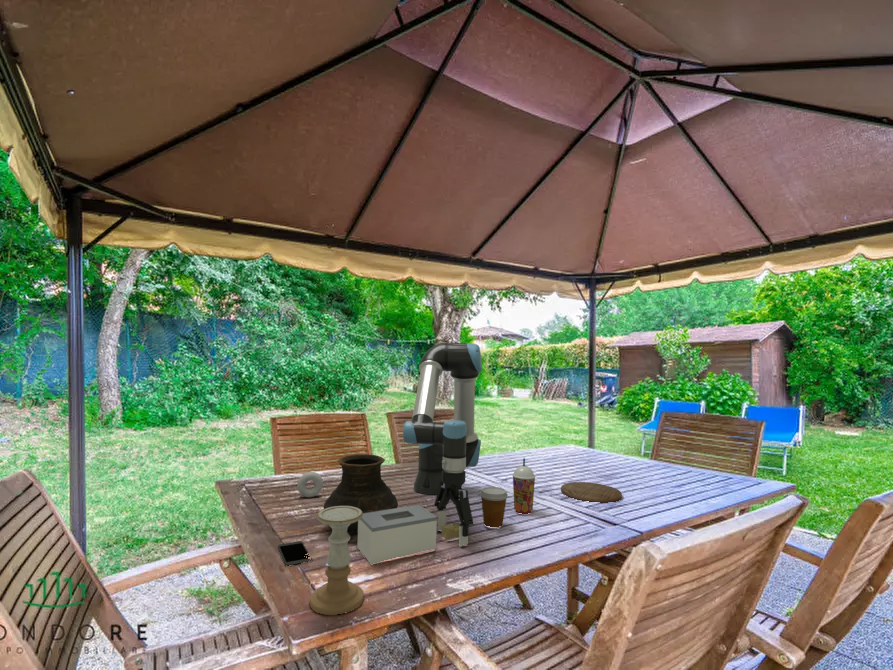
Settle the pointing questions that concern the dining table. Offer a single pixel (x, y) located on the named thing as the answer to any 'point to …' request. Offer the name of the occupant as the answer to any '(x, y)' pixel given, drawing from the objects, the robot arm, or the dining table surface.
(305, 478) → the donut
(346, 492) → the ceramic pot
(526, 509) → the smoothie
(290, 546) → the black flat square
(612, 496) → the trivet
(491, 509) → the disposable coffee cup
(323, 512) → the candle holder
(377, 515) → the box
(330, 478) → the dining table surface
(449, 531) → the yellow rectangular block
